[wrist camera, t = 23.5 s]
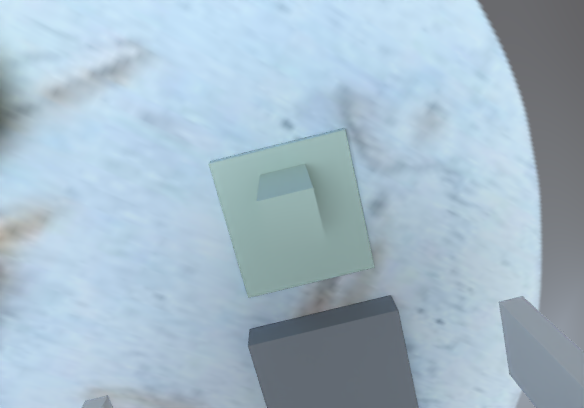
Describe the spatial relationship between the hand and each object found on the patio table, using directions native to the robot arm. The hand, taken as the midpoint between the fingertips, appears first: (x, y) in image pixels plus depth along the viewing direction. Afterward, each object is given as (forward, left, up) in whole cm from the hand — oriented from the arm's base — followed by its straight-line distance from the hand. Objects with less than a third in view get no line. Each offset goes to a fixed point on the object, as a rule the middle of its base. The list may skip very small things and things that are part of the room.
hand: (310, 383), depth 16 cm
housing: (0, -23, -29) cm, 37 cm away
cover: (0, -3, -29) cm, 29 cm away
